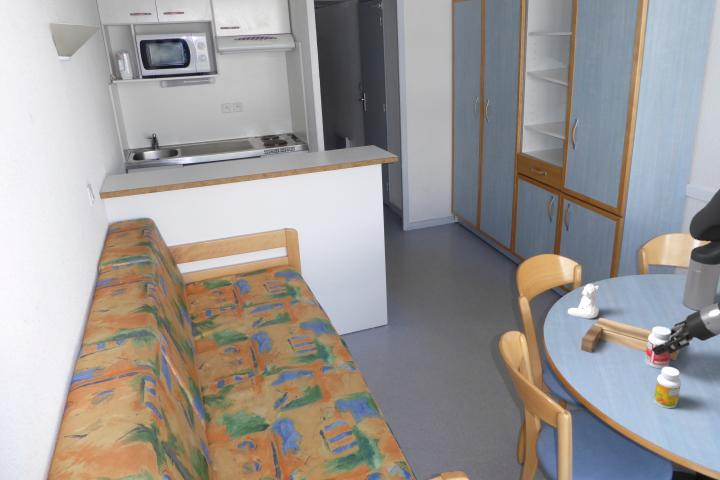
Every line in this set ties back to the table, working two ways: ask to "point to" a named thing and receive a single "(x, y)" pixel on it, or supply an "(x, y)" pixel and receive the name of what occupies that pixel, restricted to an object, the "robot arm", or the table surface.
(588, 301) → the seated beast figurine
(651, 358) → the pill bottle
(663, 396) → the supplement bottle
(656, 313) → the table surface
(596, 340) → the wooden l-shaped block
